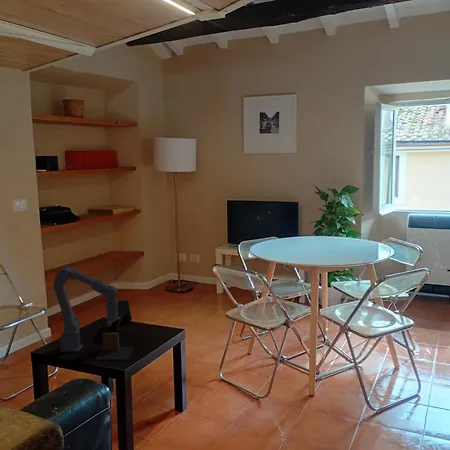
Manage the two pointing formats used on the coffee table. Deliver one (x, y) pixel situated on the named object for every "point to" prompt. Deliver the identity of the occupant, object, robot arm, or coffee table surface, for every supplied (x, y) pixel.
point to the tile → (110, 341)
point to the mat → (115, 354)
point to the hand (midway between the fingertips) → (113, 334)
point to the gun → (121, 315)
